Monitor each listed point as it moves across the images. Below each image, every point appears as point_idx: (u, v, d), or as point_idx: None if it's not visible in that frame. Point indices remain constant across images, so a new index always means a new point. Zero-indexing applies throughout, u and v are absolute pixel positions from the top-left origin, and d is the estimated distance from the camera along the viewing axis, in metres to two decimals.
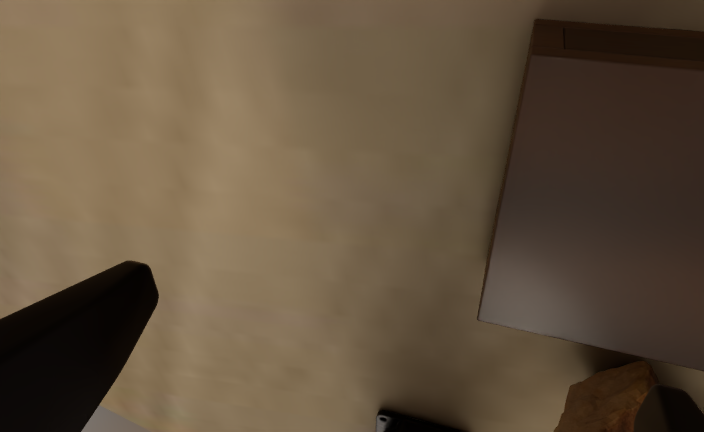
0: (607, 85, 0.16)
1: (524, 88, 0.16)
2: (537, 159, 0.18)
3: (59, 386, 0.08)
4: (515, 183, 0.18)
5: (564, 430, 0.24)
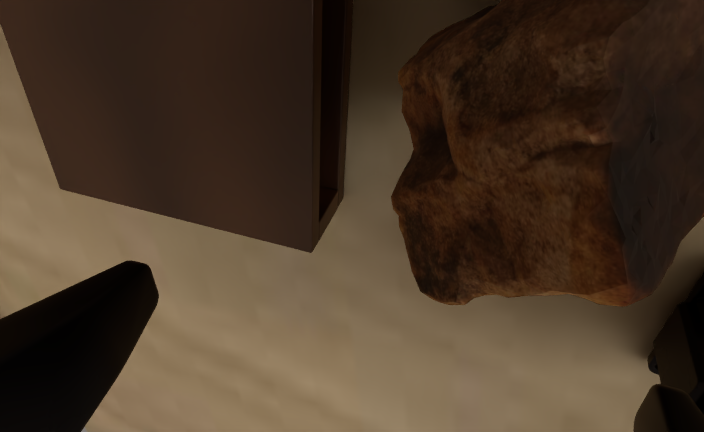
0: (57, 145, 0.21)
1: (81, 193, 0.23)
2: (124, 189, 0.22)
3: (59, 386, 0.08)
4: (149, 205, 0.22)
5: None
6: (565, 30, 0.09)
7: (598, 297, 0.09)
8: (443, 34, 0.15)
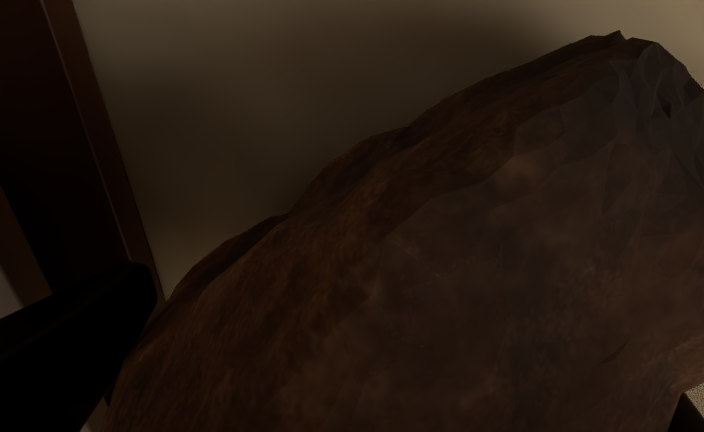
0: None
1: None
2: None
3: (58, 386, 0.08)
4: None
5: None
6: None
7: None
8: (180, 290, 0.11)
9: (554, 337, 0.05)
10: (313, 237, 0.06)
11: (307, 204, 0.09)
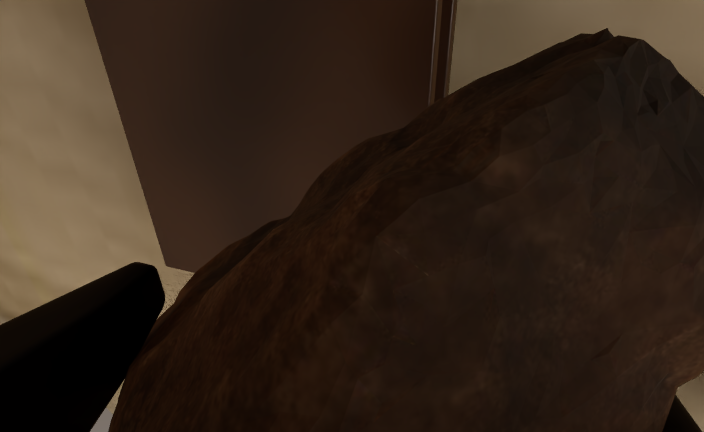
0: (167, 229, 0.23)
1: (186, 270, 0.24)
2: None
3: (67, 388, 0.08)
4: None
5: None
6: None
7: None
8: (184, 295, 0.11)
9: (547, 333, 0.05)
10: (308, 240, 0.06)
11: (306, 207, 0.10)
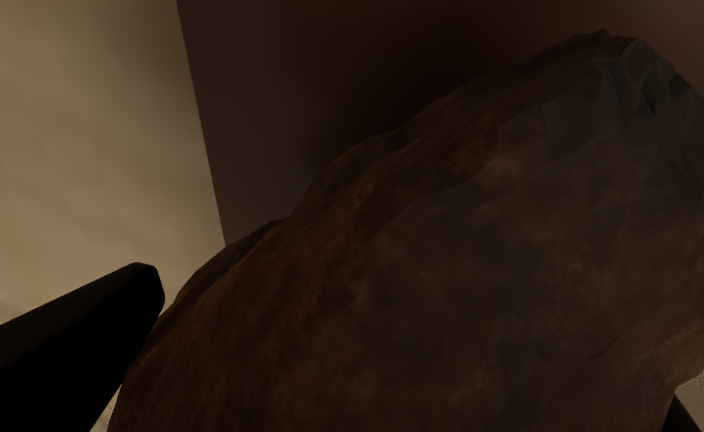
0: None
1: None
2: None
3: (67, 388, 0.08)
4: None
5: None
6: None
7: None
8: (183, 295, 0.11)
9: (544, 334, 0.05)
10: (305, 240, 0.06)
11: (305, 207, 0.10)
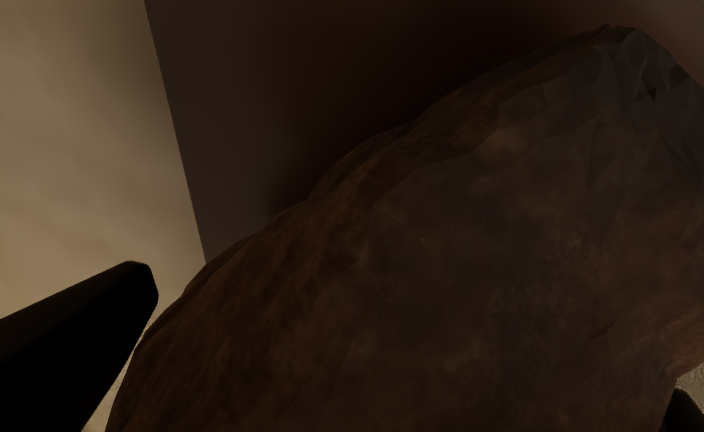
0: None
1: None
2: None
3: (59, 386, 0.08)
4: None
5: None
6: None
7: None
8: (191, 286, 0.11)
9: (542, 309, 0.05)
10: (310, 214, 0.06)
11: None
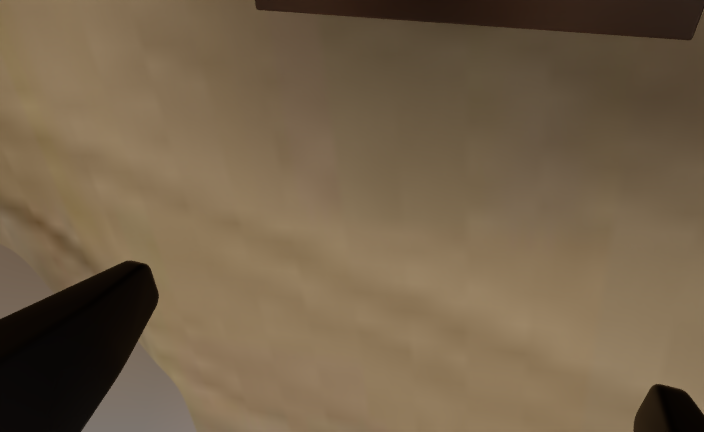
0: None
1: (289, 11, 0.16)
2: None
3: (59, 386, 0.08)
4: (403, 6, 0.14)
5: None
6: None
7: None
8: None
9: None
10: None
11: None
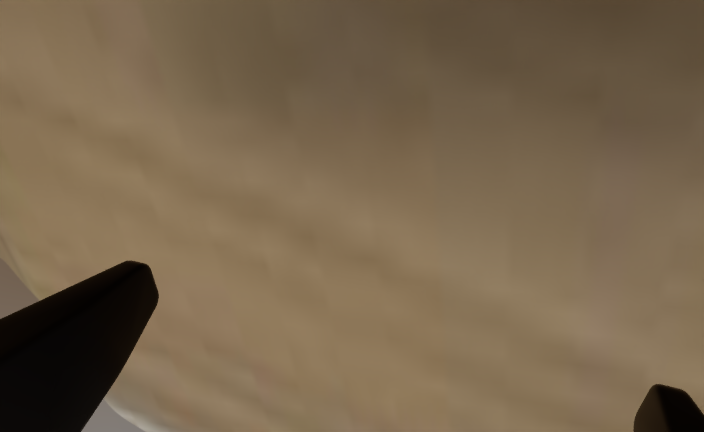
0: None
1: None
2: None
3: (59, 386, 0.08)
4: None
5: None
6: None
7: None
8: None
9: None
10: None
11: None
